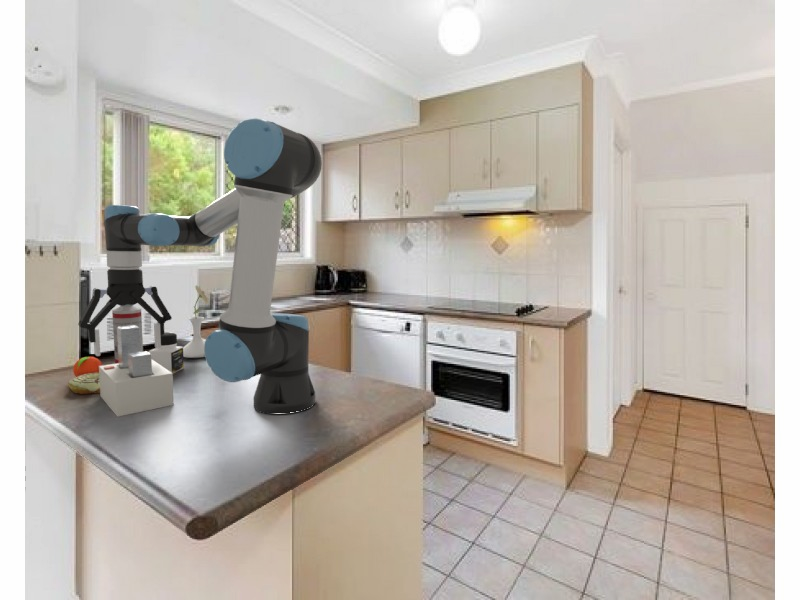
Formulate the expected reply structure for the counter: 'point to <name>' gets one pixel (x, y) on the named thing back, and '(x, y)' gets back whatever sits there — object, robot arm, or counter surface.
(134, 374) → the grey square peg
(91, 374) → the decorated donut
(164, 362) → the medicine bottle
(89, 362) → the clementine
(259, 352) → the robot arm
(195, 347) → the flower in vase
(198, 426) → the counter surface
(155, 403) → the housing
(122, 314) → the spray bottle
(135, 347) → the upper square grey bar
